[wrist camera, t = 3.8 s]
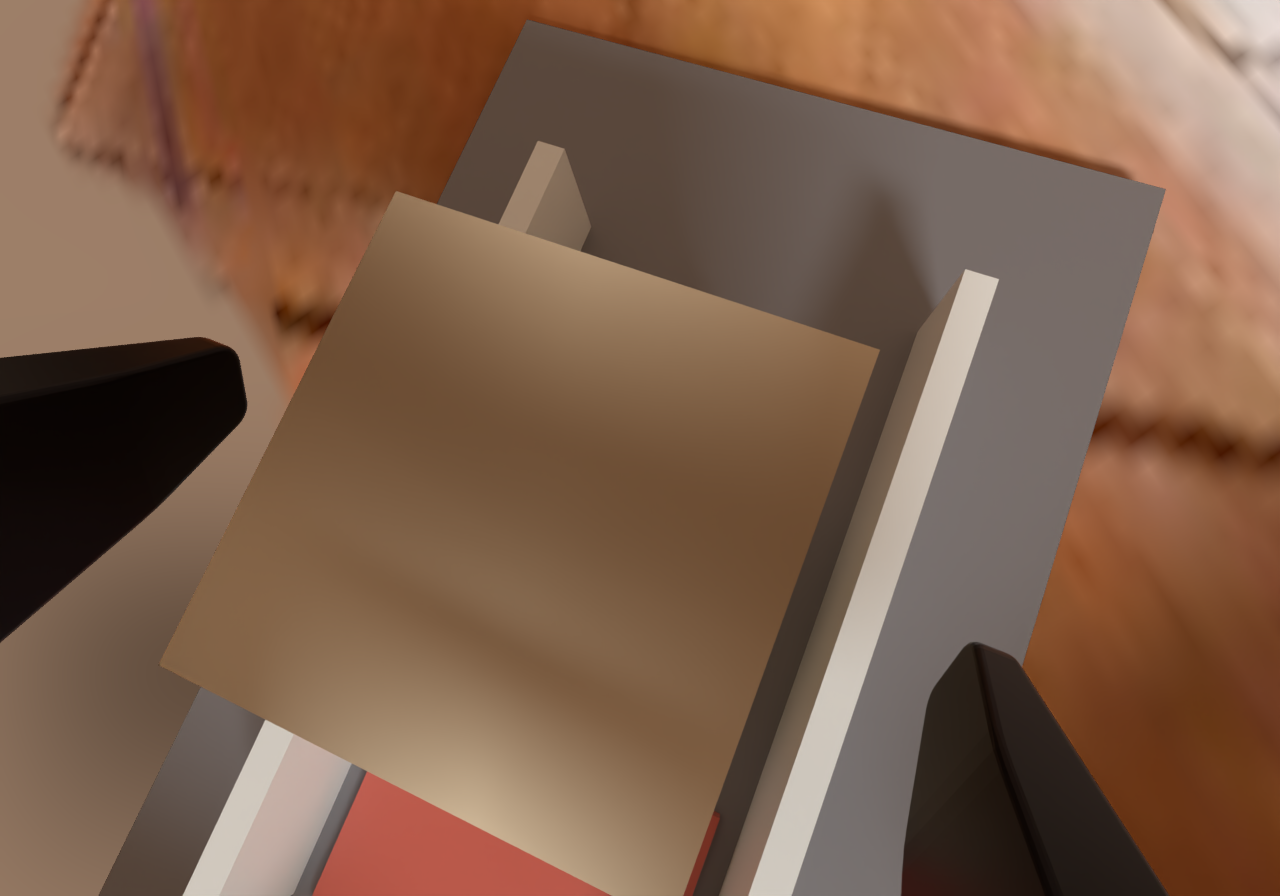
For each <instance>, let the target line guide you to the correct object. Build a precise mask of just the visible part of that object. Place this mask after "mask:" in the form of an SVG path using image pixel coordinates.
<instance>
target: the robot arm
mask: <svg viewBox="0 0 1280 896" xmlns="http://www.w3.org/2000/svg"><path fill="white" fill-rule="evenodd" d="M246 410H247V398H246V393H245V387H244V382H243V376H242V371H241V365H240V360H239V357H238V355H237V354H236V352H235V351H234V350H233V349H232V348H230V347H228V346H226V345H223V344H221V343H218V342H215V341H213V340H211V339H207V338H203V337H194V338H184V339H174V340H165V341H156V342H147V343H137V344H127V345H118V346H110V347H109V346H108V347H99V348H90V349H80V350H70V351H61V352H52V353H42V354H33V355H23V356H14V357H4V358H0V642H1V641H3V640H4V639H5V638H6V637H7V636H9V635H10V634H11V633H12V632H13V631H15V630H16V629H17V628H18V627H19V626H20V625H22V624H23V623H24V622H25V621H26V620H27V619H29V618H30V617H31V616H32V615H33V614H34V613H36V611H38V610H39V609H40V608H41V607H43V606H44V605H45V604H46V603H47V602H48V601H50V600H51V599H52V598H53V597H54V596H55V595H57V594H58V593H59V592H60V591H61V590H62V589H63V588H65V587H66V586H67V585H68V584H69V583H71V582H72V581H73V580H74V579H75V578H76V577H78V576H79V575H80V574H81V573H82V572H83V571H85V570H86V569H87V568H88V567H89V566H90V565H92V564H93V563H94V562H95V561H96V560H97V559H98V558H100V557H101V556H102V555H103V554H104V553H106V552H107V551H108V550H109V549H110V548H111V547H113V546H114V545H115V544H116V543H117V542H119V541H120V540H121V539H122V538H123V537H124V536H126V535H127V534H128V533H129V532H130V531H131V530H133V529H134V528H135V527H136V526H137V525H138V524H139V523H141V522H142V521H143V520H144V519H145V518H146V517H147V516H148V515H150V514H151V513H152V512H153V511H154V510H155V509H156V508H157V507H158V506H159V505H160V504H161V503H162V502H164V501H165V499H167V497H169V496H170V495H171V494H172V493H173V492H174V490H176V488H177V487H178V486H179V485H180V484H181V483H182V482H183V481H184V480H185V479H186V478H187V477H188V476H189V475H190V474H191V473H192V472H193V471H194V470H195V469H196V468H197V467H198V466H199V465H200V464H201V463H202V462H203V460H205V459H206V458H207V457H208V455H209V454H210V453H211V452H212V451H213V450H214V449H215V448H216V447H217V446H218V445H219V444H220V443H221V442H222V441H223V440H224V439H225V438H226V437H227V436H228V435H229V434H230V433H231V432H232V431H233V430H234V429H235V428H236V427H237V426H238V424H239V423H240V422H241V421H242V419H243V418H244V416H245V413H246ZM901 896H1169V894H1168V893H1167V891H1166V890H1165V888H1164V887H1163V885H1162V883H1161V882H1160V880H1159V879H1158V877H1157V876H1156V874H1155V873H1154V871H1153V869H1152V868H1151V866H1150V865H1149V863H1148V862H1147V860H1146V859H1145V857H1144V856H1143V854H1142V852H1141V851H1140V849H1139V848H1138V846H1137V845H1136V843H1135V842H1134V840H1133V839H1132V837H1131V835H1130V834H1129V832H1128V831H1127V829H1126V828H1125V826H1124V825H1123V823H1122V821H1121V820H1120V818H1119V817H1118V815H1117V814H1116V812H1115V811H1114V809H1113V808H1112V806H1111V804H1110V803H1109V801H1108V800H1107V798H1106V797H1105V795H1104V794H1103V792H1102V791H1101V789H1100V787H1099V786H1098V784H1097V783H1096V781H1095V780H1094V778H1093V777H1092V775H1091V774H1090V772H1089V770H1088V769H1087V767H1086V766H1085V764H1084V763H1083V761H1082V760H1081V758H1080V756H1079V755H1078V753H1077V752H1076V750H1075V749H1074V747H1073V746H1072V744H1071V743H1070V741H1069V739H1068V738H1067V736H1066V735H1065V733H1064V732H1063V730H1062V729H1061V727H1060V726H1059V724H1058V722H1057V721H1056V719H1055V718H1054V716H1053V715H1052V713H1051V712H1050V710H1049V708H1048V707H1047V705H1046V704H1045V702H1044V701H1043V699H1042V698H1041V696H1040V695H1039V693H1038V691H1037V690H1036V688H1035V687H1034V685H1033V684H1032V682H1031V681H1030V679H1029V678H1028V676H1027V674H1026V673H1025V671H1024V670H1023V668H1022V667H1021V665H1020V664H1019V662H1018V661H1017V660H1016V659H1015V658H1014V657H1013V656H1011V655H1010V654H1008V653H1005V652H1003V651H1000V650H998V649H995V648H993V647H990V646H988V645H985V644H983V643H980V642H970V643H968V644H967V645H966V646H964V647H963V648H962V650H961V651H960V652H959V654H958V655H957V656H956V658H955V659H954V660H953V662H952V663H951V664H950V666H949V667H948V668H947V670H946V671H945V672H944V674H943V675H942V676H941V678H940V679H939V681H938V682H937V683H936V685H935V686H934V688H933V690H932V691H931V694H930V696H929V699H928V702H927V706H926V711H925V717H924V723H923V729H922V735H921V742H920V748H919V754H918V760H917V766H916V772H915V778H914V784H913V790H912V796H911V802H910V809H909V815H908V821H907V827H906V835H905V842H904V850H903V864H902V880H901Z"/></svg>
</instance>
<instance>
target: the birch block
mask: <svg viewBox="0 0 1280 896" xmlns="http://www.w3.org/2000/svg"><path fill="white" fill-rule="evenodd" d="M879 351H880V350H879V349H876V348H873V347H870V346H867V345H864V344H861V343H858V342H855V341H852V340H849V339H846V338H843V337H839V336H836V335H833V334H830V333H827V332H824V331H821V330H818V329H815V328H812V327H809V326H806V325H803V324H800V323H797V322H794V321H791V320H788V319H785V318H782V317H779V316H775V315H772V314H769V313H766V312H763V311H760V310H757V309H754V308H751V307H748V306H745V305H742V304H739V303H736V302H733V301H730V300H727V299H724V298H721V297H718V296H715V295H712V294H708V293H705V292H702V291H699V290H696V289H693V288H690V287H687V286H684V285H681V284H678V283H675V282H672V281H669V280H666V279H663V278H660V277H657V276H654V275H651V274H648V273H645V272H641V271H638V270H635V269H632V268H629V267H626V266H623V265H620V264H617V263H614V262H611V261H608V260H605V259H602V258H599V257H596V256H593V255H590V254H587V253H584V252H581V251H578V250H574V249H571V248H568V247H565V246H562V245H559V244H556V243H553V242H550V241H547V240H544V239H541V238H538V237H535V236H532V235H529V234H526V233H523V232H520V231H517V230H514V229H511V228H507V227H504V226H501V225H498V224H495V223H492V222H489V221H486V220H483V219H480V218H477V217H474V216H471V215H468V214H465V213H462V212H459V211H456V210H453V209H450V208H447V207H443V206H440V205H437V204H434V203H431V202H428V201H425V200H422V199H419V198H416V197H413V196H410V195H407V194H404V193H401V192H398V191H396V192H395V194H394V196H393V198H392V200H391V202H390V204H389V206H388V208H387V210H386V212H385V214H384V216H383V218H382V220H381V222H380V224H379V226H378V228H377V230H376V232H375V234H374V236H373V238H372V240H371V242H370V244H369V246H368V248H367V250H366V252H365V254H364V256H363V258H362V260H361V262H360V264H359V266H358V268H357V270H356V272H355V274H354V276H353V278H352V280H351V282H350V284H349V286H348V288H347V290H346V292H345V294H344V296H343V298H342V300H341V302H340V304H339V306H338V308H337V310H336V312H335V314H334V316H333V318H332V320H331V322H330V324H329V326H328V328H327V329H326V331H325V333H324V335H323V337H322V339H321V341H320V343H319V345H318V347H317V349H316V351H315V353H314V355H313V357H312V359H311V361H310V363H309V365H308V367H307V369H306V371H305V373H304V375H303V377H302V379H301V381H300V383H299V385H298V387H297V389H296V391H295V393H294V395H293V397H292V399H291V401H290V403H289V405H288V407H287V409H286V411H285V413H284V415H283V417H282V419H281V421H280V423H279V425H278V427H277V429H276V431H275V433H274V435H273V437H272V439H271V441H270V443H269V445H268V447H267V449H266V451H265V453H264V455H263V457H262V459H261V461H260V463H259V465H258V467H257V469H256V471H255V473H254V475H253V477H252V479H251V481H250V483H249V485H248V487H247V489H246V491H245V493H244V495H243V497H242V499H241V501H240V503H239V505H238V507H237V509H236V511H235V513H234V515H233V517H232V519H231V521H230V523H229V525H228V527H227V529H226V531H225V533H224V535H223V537H222V539H221V541H220V543H219V545H218V547H217V549H216V551H215V553H214V555H213V557H212V559H211V561H210V563H209V565H208V567H207V569H206V571H205V573H204V575H203V577H202V579H201V581H200V583H199V585H198V587H197V589H196V591H195V593H194V595H193V597H192V599H191V601H190V603H189V605H188V607H187V609H186V611H185V613H184V615H183V617H182V619H181V621H180V623H179V625H178V627H177V629H176V631H175V633H174V635H173V637H172V639H171V641H170V643H169V645H168V647H167V649H166V651H165V653H164V655H163V657H162V659H161V661H160V663H159V666H161V667H163V668H165V669H167V670H169V671H171V672H173V673H175V674H177V675H179V676H181V677H183V678H185V679H187V680H189V681H191V682H193V683H195V684H197V685H198V686H200V687H202V688H204V689H206V690H208V691H210V692H212V693H214V694H216V695H218V696H220V697H222V698H224V699H226V700H228V701H230V702H232V703H234V704H236V705H238V706H240V707H242V708H244V709H246V710H248V711H250V712H252V713H254V714H255V715H257V716H259V717H261V718H263V719H265V720H267V721H269V722H271V723H273V724H275V725H277V726H279V727H281V728H283V729H285V730H287V731H289V732H291V733H293V734H295V735H297V736H299V737H301V738H303V739H305V740H307V741H309V742H311V743H313V744H314V745H316V746H318V747H320V748H322V749H324V750H326V751H328V752H330V753H332V754H334V755H336V756H338V757H340V758H342V759H344V760H346V761H348V762H350V763H352V764H354V765H356V766H358V767H360V768H362V769H364V770H366V771H368V772H370V773H372V774H373V775H375V776H377V777H379V778H381V779H383V780H385V781H387V782H389V783H391V784H393V785H395V786H397V787H399V788H401V789H403V790H405V791H407V792H409V793H411V794H413V795H415V796H417V797H419V798H421V799H423V800H425V801H427V802H429V803H431V804H432V805H434V806H436V807H438V808H440V809H442V810H444V811H446V812H448V813H450V814H452V815H454V816H456V817H458V818H460V819H462V820H464V821H466V822H468V823H470V824H472V825H474V826H476V827H478V828H480V829H482V830H484V831H486V832H488V833H489V834H491V835H493V836H495V837H497V838H499V839H501V840H503V841H505V842H507V843H509V844H511V845H513V846H515V847H517V848H519V849H521V850H523V851H525V852H527V853H529V854H531V855H533V856H535V857H537V858H539V859H541V860H543V861H545V862H547V863H548V864H550V865H552V866H554V867H556V868H558V869H560V870H562V871H564V872H566V873H568V874H570V875H572V876H574V877H576V878H578V879H580V880H582V881H584V882H586V883H588V884H590V885H592V886H594V887H596V888H598V889H600V890H602V891H604V892H606V893H607V894H609V895H611V896H683V895H684V892H685V889H686V887H687V884H688V881H689V878H690V875H691V873H692V870H693V867H694V864H695V862H696V859H697V856H698V853H699V851H700V848H701V845H702V842H703V839H704V837H705V834H706V831H707V828H708V826H709V823H710V820H711V817H712V814H713V812H714V809H715V806H716V803H717V801H718V798H719V795H720V792H721V790H722V787H723V784H724V781H725V778H726V776H727V773H728V770H729V767H730V765H731V762H732V759H733V756H734V753H735V751H736V748H737V745H738V742H739V740H740V737H741V734H742V731H743V729H744V726H745V723H746V720H747V717H748V715H749V712H750V709H751V706H752V704H753V701H754V698H755V695H756V692H757V690H758V687H759V684H760V681H761V679H762V676H763V673H764V670H765V667H766V665H767V662H768V659H769V656H770V654H771V651H772V648H773V645H774V643H775V640H776V637H777V634H778V631H779V629H780V626H781V623H782V620H783V618H784V615H785V612H786V609H787V606H788V604H789V601H790V598H791V595H792V593H793V590H794V587H795V584H796V582H797V579H798V576H799V573H800V570H801V568H802V565H803V562H804V559H805V557H806V554H807V551H808V548H809V545H810V543H811V540H812V537H813V534H814V532H815V529H816V526H817V523H818V521H819V518H820V515H821V512H822V509H823V507H824V504H825V501H826V498H827V496H828V493H829V490H830V487H831V484H832V482H833V479H834V476H835V473H836V471H837V468H838V465H839V462H840V460H841V457H842V454H843V451H844V448H845V446H846V443H847V440H848V437H849V435H850V432H851V429H852V426H853V423H854V421H855V418H856V415H857V412H858V410H859V407H860V404H861V401H862V398H863V396H864V393H865V390H866V387H867V385H868V382H869V379H870V376H871V374H872V371H873V368H874V365H875V362H876V360H877V357H878V354H879Z"/></svg>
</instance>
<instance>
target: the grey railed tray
mask: <svg viewBox="0 0 1280 896" xmlns="http://www.w3.org/2000/svg"><path fill="white" fill-rule="evenodd" d="M1165 190H1166V189H1163V188H1159V187H1156V186H1152V185H1148V184H1144V183H1140V182H1137V181H1133V180H1129V179H1125V178H1122V177H1118V176H1114V175H1110V174H1107V173H1103V172H1099V171H1095V170H1092V169H1088V168H1084V167H1080V166H1077V165H1073V164H1069V163H1065V162H1061V161H1058V160H1054V159H1050V158H1046V157H1043V156H1039V155H1035V154H1031V153H1028V152H1024V151H1020V150H1016V149H1013V148H1009V147H1005V146H1001V145H998V144H994V143H990V142H986V141H982V140H979V139H975V138H971V137H967V136H964V135H960V134H956V133H952V132H949V131H945V130H941V129H937V128H934V127H930V126H926V125H922V124H919V123H915V122H911V121H907V120H903V119H900V118H896V117H892V116H888V115H885V114H881V113H877V112H873V111H870V110H866V109H862V108H858V107H855V106H851V105H847V104H843V103H840V102H836V101H832V100H828V99H824V98H821V97H817V96H813V95H809V94H806V93H802V92H798V91H794V90H791V89H787V88H783V87H779V86H776V85H772V84H768V83H764V82H761V81H757V80H753V79H749V78H745V77H742V76H738V75H734V74H730V73H727V72H723V71H719V70H715V69H712V68H708V67H704V66H700V65H697V64H693V63H689V62H685V61H682V60H678V59H674V58H670V57H666V56H663V55H659V54H655V53H651V52H648V51H644V50H640V49H636V48H633V47H629V46H625V45H621V44H618V43H614V42H610V41H606V40H603V39H599V38H595V37H591V36H587V35H584V34H580V33H576V32H572V31H569V30H565V29H561V28H557V27H554V26H550V25H546V24H542V23H539V22H535V21H531V20H527V21H526V23H525V25H524V27H523V29H522V31H521V33H520V35H519V37H518V39H517V41H516V43H515V45H514V47H513V49H512V51H511V53H510V55H509V57H508V59H507V62H506V64H505V66H504V68H503V70H502V72H501V74H500V76H499V78H498V80H497V82H496V84H495V86H494V88H493V90H492V92H491V94H490V96H489V98H488V100H487V102H486V104H485V106H484V109H483V111H482V113H481V115H480V117H479V119H478V121H477V123H476V125H475V127H474V129H473V131H472V133H471V135H470V137H469V139H468V141H467V143H466V145H465V147H464V149H463V151H462V154H461V156H460V158H459V160H458V162H457V164H456V166H455V168H454V170H453V172H452V174H451V176H450V178H449V180H448V182H447V184H446V186H445V188H444V190H443V192H442V194H441V196H440V199H439V201H438V203H437V205H440V206H443V207H447V208H450V209H453V210H456V211H459V212H462V213H465V214H468V215H471V216H474V217H477V218H480V219H483V220H486V221H489V222H492V223H495V224H498V225H501V226H504V227H507V228H511V229H514V230H517V231H520V232H523V233H526V234H529V235H532V236H535V237H538V238H541V239H544V240H547V241H550V242H553V243H556V244H559V245H562V246H565V247H568V248H571V249H574V250H578V251H581V252H584V253H587V254H590V255H593V256H596V257H599V258H602V259H605V260H608V261H611V262H614V263H617V264H620V265H623V266H626V267H629V268H632V269H635V270H638V271H641V272H645V273H648V274H651V275H654V276H657V277H660V278H663V279H666V280H669V281H672V282H675V283H678V284H681V285H684V286H687V287H690V288H693V289H696V290H699V291H702V292H705V293H708V294H712V295H715V296H718V297H721V298H724V299H727V300H730V301H733V302H736V303H739V304H742V305H745V306H748V307H751V308H754V309H757V310H760V311H763V312H766V313H769V314H772V315H775V316H779V317H782V318H785V319H788V320H791V321H794V322H797V323H800V324H803V325H806V326H809V327H812V328H815V329H818V330H821V331H824V332H827V333H830V334H833V335H836V336H839V337H843V338H846V339H849V340H852V341H855V342H858V343H861V344H864V345H867V346H870V347H873V348H876V349H879V350H880V351H879V354H878V357H877V360H876V362H875V365H874V368H873V371H872V374H871V376H870V379H869V382H868V385H867V387H866V390H865V393H864V396H863V398H862V401H861V404H860V407H859V410H858V412H857V415H856V418H855V421H854V423H853V426H852V429H851V432H850V435H849V437H848V440H847V443H846V446H845V448H844V451H843V454H842V457H841V460H840V462H839V465H838V468H837V471H836V473H835V476H834V479H833V482H832V484H831V487H830V490H829V493H828V496H827V498H826V501H825V504H824V507H823V509H822V512H821V515H820V518H819V521H818V523H817V526H816V529H815V532H814V534H813V537H812V540H811V543H810V545H809V548H808V551H807V554H806V557H805V559H804V562H803V565H802V568H801V570H800V573H799V576H798V579H797V582H796V584H795V587H794V590H793V593H792V595H791V598H790V601H789V604H788V606H787V609H786V612H785V615H784V618H783V620H782V623H781V626H780V629H779V631H778V634H777V637H776V640H775V643H774V645H773V648H772V651H771V654H770V656H769V659H768V662H767V665H766V667H765V670H764V673H763V676H762V679H761V681H760V684H759V687H758V690H757V692H756V695H755V698H754V701H753V704H752V706H751V709H750V712H749V715H748V717H747V720H746V723H745V726H744V729H743V731H742V734H741V737H740V740H739V742H738V745H737V748H736V751H735V753H734V756H733V759H732V762H731V765H730V767H729V770H728V773H727V776H726V778H725V781H724V784H723V787H722V790H721V792H720V795H719V798H718V801H717V803H716V806H715V809H714V812H713V814H712V817H711V820H710V823H709V826H708V828H707V831H706V834H705V837H704V839H703V842H702V845H701V848H700V851H699V853H698V856H697V859H696V862H695V864H694V867H693V870H692V873H691V875H690V878H689V881H688V884H687V887H686V889H685V892H684V895H683V896H901V880H902V864H903V850H904V842H905V835H906V827H907V821H908V815H909V809H910V802H911V796H912V790H913V784H914V778H915V772H916V766H917V760H918V754H919V748H920V742H921V735H922V729H923V723H924V717H925V711H926V706H927V702H928V699H929V696H930V694H931V691H932V690H933V688H934V686H935V685H936V683H937V682H938V681H939V679H940V678H941V676H942V675H943V674H944V672H945V671H946V670H947V668H948V667H949V666H950V664H951V663H952V662H953V660H954V659H955V658H956V656H957V655H958V654H959V652H960V651H961V650H962V648H963V647H964V646H966V645H967V644H968V643H970V642H980V643H983V644H985V645H988V646H990V647H993V648H995V649H998V650H1000V651H1003V652H1005V653H1008V654H1010V655H1011V656H1013V657H1014V658H1015V659H1016V660H1017V661H1018V662H1019V664H1020V665H1021V667H1022V665H1023V662H1024V658H1025V655H1026V652H1027V648H1028V645H1029V642H1030V638H1031V635H1032V632H1033V628H1034V625H1035V622H1036V618H1037V615H1038V612H1039V608H1040V605H1041V602H1042V599H1043V595H1044V592H1045V589H1046V585H1047V582H1048V579H1049V575H1050V572H1051V569H1052V565H1053V562H1054V559H1055V555H1056V552H1057V549H1058V545H1059V542H1060V539H1061V535H1062V532H1063V529H1064V526H1065V522H1066V519H1067V516H1068V512H1069V509H1070V506H1071V502H1072V499H1073V496H1074V492H1075V489H1076V486H1077V482H1078V479H1079V476H1080V472H1081V469H1082V466H1083V462H1084V459H1085V456H1086V452H1087V449H1088V446H1089V443H1090V439H1091V436H1092V433H1093V429H1094V426H1095V423H1096V419H1097V416H1098V413H1099V409H1100V406H1101V403H1102V399H1103V396H1104V393H1105V389H1106V386H1107V383H1108V379H1109V376H1110V373H1111V370H1112V366H1113V363H1114V360H1115V356H1116V353H1117V350H1118V346H1119V343H1120V340H1121V336H1122V333H1123V330H1124V326H1125V323H1126V320H1127V316H1128V313H1129V310H1130V306H1131V303H1132V300H1133V297H1134V293H1135V290H1136V287H1137V283H1138V280H1139V277H1140V273H1141V270H1142V267H1143V263H1144V260H1145V257H1146V253H1147V250H1148V247H1149V243H1150V240H1151V237H1152V233H1153V230H1154V227H1155V223H1156V220H1157V217H1158V214H1159V210H1160V207H1161V204H1162V200H1163V197H1164V194H1165ZM99 896H611V895H609V894H607V893H606V892H604V891H602V890H600V889H598V888H596V887H594V886H592V885H590V884H588V883H586V882H584V881H582V880H580V879H578V878H576V877H574V876H572V875H570V874H568V873H566V872H564V871H562V870H560V869H558V868H556V867H554V866H552V865H550V864H548V863H547V862H545V861H543V860H541V859H539V858H537V857H535V856H533V855H531V854H529V853H527V852H525V851H523V850H521V849H519V848H517V847H515V846H513V845H511V844H509V843H507V842H505V841H503V840H501V839H499V838H497V837H495V836H493V835H491V834H489V833H488V832H486V831H484V830H482V829H480V828H478V827H476V826H474V825H472V824H470V823H468V822H466V821H464V820H462V819H460V818H458V817H456V816H454V815H452V814H450V813H448V812H446V811H444V810H442V809H440V808H438V807H436V806H434V805H432V804H431V803H429V802H427V801H425V800H423V799H421V798H419V797H417V796H415V795H413V794H411V793H409V792H407V791H405V790H403V789H401V788H399V787H397V786H395V785H393V784H391V783H389V782H387V781H385V780H383V779H381V778H379V777H377V776H375V775H373V774H372V773H370V772H368V771H366V770H364V769H362V768H360V767H358V766H356V765H354V764H352V763H350V762H348V761H346V760H344V759H342V758H340V757H338V756H336V755H334V754H332V753H330V752H328V751H326V750H324V749H322V748H320V747H318V746H316V745H314V744H313V743H311V742H309V741H307V740H305V739H303V738H301V737H299V736H297V735H295V734H293V733H291V732H289V731H287V730H285V729H283V728H281V727H279V726H277V725H275V724H273V723H271V722H269V721H267V720H265V719H263V718H261V717H259V716H257V715H255V714H254V713H252V712H250V711H248V710H246V709H244V708H242V707H240V706H238V705H236V704H234V703H232V702H230V701H228V700H226V699H224V698H222V697H220V696H218V695H216V694H214V693H212V692H210V691H208V690H206V689H204V688H202V687H200V689H199V691H198V693H197V695H196V697H195V700H194V702H193V704H192V706H191V708H190V710H189V712H188V714H187V716H186V718H185V720H184V722H183V724H182V726H181V728H180V730H179V732H178V734H177V736H176V738H175V740H174V743H173V744H172V747H171V749H170V751H169V753H168V755H167V757H166V759H165V761H164V763H163V765H162V767H161V769H160V771H159V773H158V775H157V777H156V779H155V781H154V783H153V785H152V787H151V789H150V791H149V794H148V796H147V798H146V800H145V802H144V804H143V806H142V808H141V810H140V812H139V814H138V816H137V818H136V820H135V822H134V824H133V826H132V829H131V830H130V832H129V834H128V837H127V839H126V841H125V843H124V845H123V847H122V849H121V851H120V853H119V855H118V857H117V859H116V861H115V863H114V865H113V867H112V869H111V871H110V873H109V875H108V877H107V879H106V881H105V884H104V886H103V888H102V890H101V892H100V894H99Z"/></svg>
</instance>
